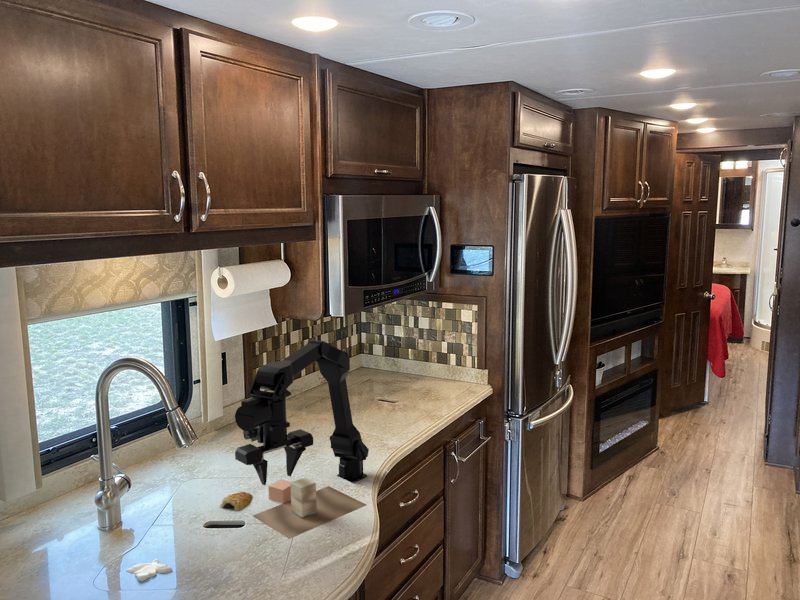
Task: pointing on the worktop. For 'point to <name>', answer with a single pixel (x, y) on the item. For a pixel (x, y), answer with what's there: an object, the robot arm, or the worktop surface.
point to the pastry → (236, 501)
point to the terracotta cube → (280, 491)
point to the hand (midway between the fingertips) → (276, 480)
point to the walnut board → (328, 509)
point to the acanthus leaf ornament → (148, 569)
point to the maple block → (303, 497)
